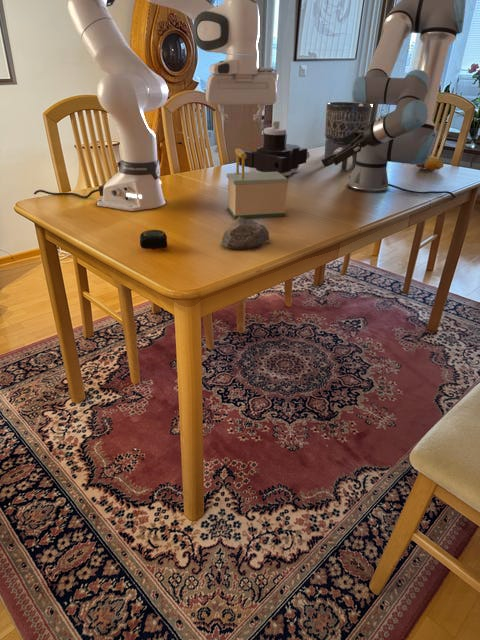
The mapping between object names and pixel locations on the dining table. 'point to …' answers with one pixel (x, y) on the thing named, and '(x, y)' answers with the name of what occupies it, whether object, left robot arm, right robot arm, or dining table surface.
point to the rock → (245, 234)
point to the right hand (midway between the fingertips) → (333, 152)
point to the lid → (253, 174)
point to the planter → (344, 125)
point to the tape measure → (153, 239)
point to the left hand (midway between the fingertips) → (241, 121)
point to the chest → (257, 200)
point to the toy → (432, 164)
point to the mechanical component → (276, 153)
